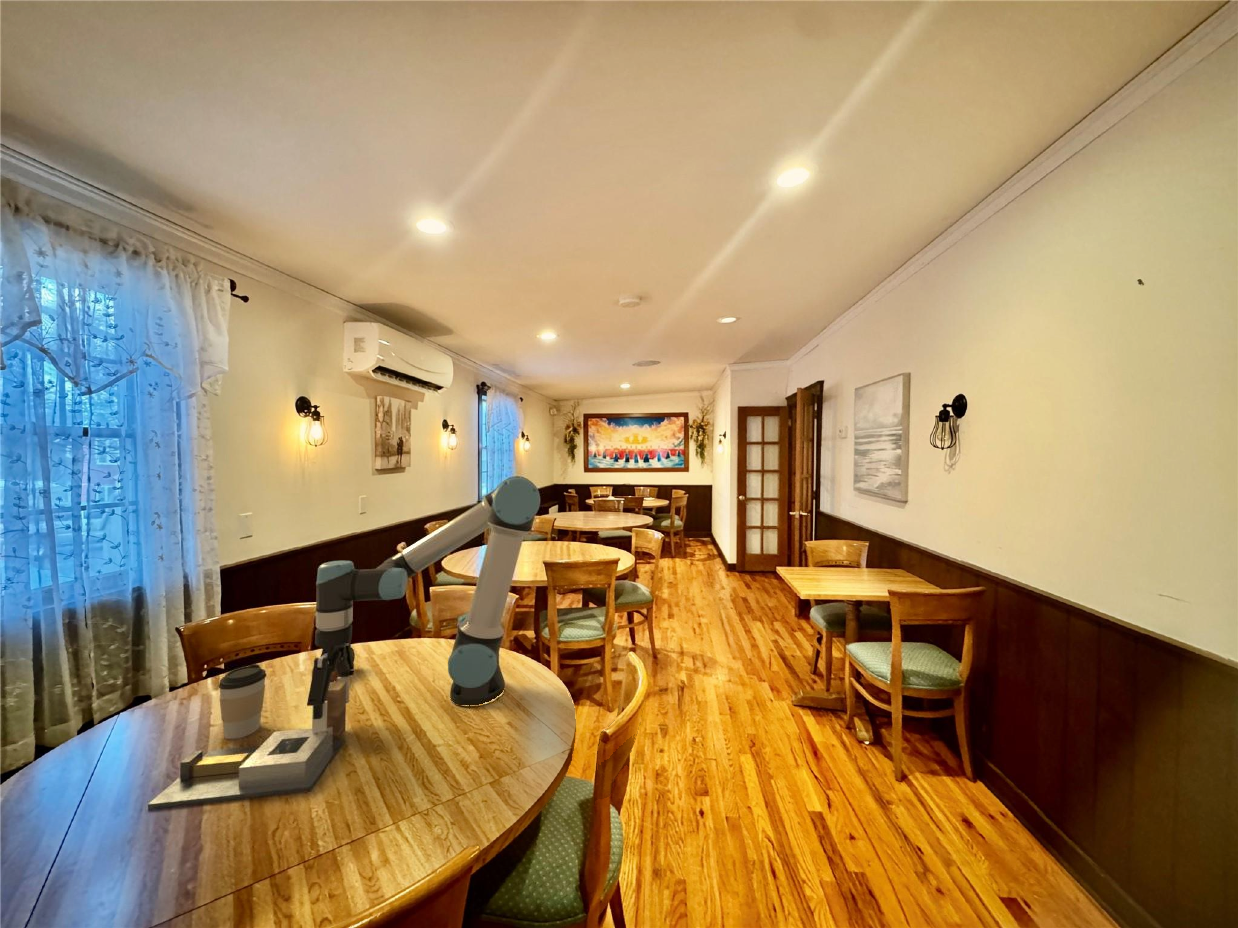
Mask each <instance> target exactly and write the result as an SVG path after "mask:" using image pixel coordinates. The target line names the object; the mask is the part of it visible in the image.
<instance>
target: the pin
mask: <svg viewBox="0 0 1238 928" xmlns="http://www.w3.org/2000/svg"><path fill="white" fill-rule="evenodd" d="M203 752H204V750H202V749H201V750H193V751H192V752H191V753H190V754H189V755H188V756H186V757H185V758H184V759H183V760H181V761H180V764H179V766H180V767H179V777H180V780H186V779H190V778H191V777H197V776H207V775H217V774H227V773H237V772H239V767H240V766H241V765H242V764H243V763H244V762H245V761H246V760H247V759H248V753H246V754H236V755H225V756H215V757H204V758H203V755H204V753H203Z"/></svg>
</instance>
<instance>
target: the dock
mask: <svg viewBox="0 0 1238 928" xmlns="http://www.w3.org/2000/svg"><path fill="white" fill-rule="evenodd" d="M332 731H333V727H327V729H326V731H321V732H312V728H306V729H305V728H304V729H294V730H293V729H292V730H291V729H290V730H284V731H283V730H282V731H274V732H273V733H272V734H271V735H270V736H269V737H268V738H267V739H266V740H265V741H264V742H263V743H262V744H261V745H254V746H253V745H252V746H244V747H243V746H242V747H241V746H240V747H231V748H221V749H210V750H209V751H208V752H207V753H206V754H204V756H203V758H204V757H215V756H225V755H236V754H246V753H248V759H247V760H246V761H245V762H244V763H243V764H242V765H241V766H240V767H239V772H237V773H227V774H217V775H207V776H197V777H191V778H190V779H186V780H180V776H179V777H178V778H177V779H175V780H174V781H173V782H172V783H171V784H170V785H168V787H167V788H165V789H164V790H163V791H161V793H159V794H158V795H157V796H156V797H155V798H153V800H151V801H150V802H149V803H148V804H147V810H155V809H157V810H158V809H165V808H174V807H175V808H176V807H182V806H192V805H193V806H194V805H201V804H202V805H203V804H208V803H209V804H210V803H219V802H228V801H229V802H230V801H237V800H238V801H239V800H246V799H253V798H254V799H255V798H263V797H272V796H280V795H290V794H291V795H292V794H299V793H308V792H309V793H310V792H312V790H313V789H314V787H315V786H316V784H317V783H318V782H319V780H320V778H321V777H322V776H323V774H324V773H325V772H326V770H327V769H328V768H329V766H330V765H331V763H332V762H333V761H334V759H335V758H336V756H337V754H338V753H339V751H340V750H341V749H342V748H343V746H344V745H345V744H346V737H340V738H338V739H332Z"/></svg>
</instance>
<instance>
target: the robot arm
mask: <svg viewBox="0 0 1238 928" xmlns="http://www.w3.org/2000/svg"><path fill="white" fill-rule="evenodd" d="M537 487H538V486H536V484H534V482H532V480H530V479H529V478H526V477H524V476H518V475H515V476H511V477H507V478H506V479H504V480H503V481H501V482H500V483H499V485H497V486H496V487H495V489H493V490H492V491H491V492H489V493H488V494H486V495H484V496H483V499H482V501H480V503H478V504H476V505H474V506H473V507H472V508H469V509H468V510H466V511H465V512H463V513H461V514H459V515H458V516H456V517H454V519H452V520H450V521H449V522H447V523H445V524H443V525H442V526H441V527H439V528H437V529H435V530H434V531H432V532H430V533H429V534H428V535H426V536H424V537H422V538H421V539H419V540H417V541H416V542H415V543H413V544H411V545H410V546H408V547H406V548H405V549H404V550H401V551H400V552H398V553H397V554H394V555H393V556H390V557H388V558H387V559H386V560H384V561H383V563H381V564H380V565H379V566H377V567H376V568H371V569H369V568H368V569H356V568H355V566H354V562H353V561H351V560H332V561H328V562H324V563H322V564H321V565H319V566H318V567H317V576H316V582H315V585H316V604H315V605H316V608H315V610H316V611H315V613H314V617H315V627H316V629H315V631H314V632H315V635H314V644H315V646H316V647H319V648H321V649H322V650H321V654H320V656H319V657H315V658H314V659H313V667H314V670H313V669H312V670H313V675H312V674H311V681H310V687H309V691H308V698H307V703H306V707H310V706H312V713H311V714H312V717H311V718H312V721H311V722H312V723H311V729H312V732H321V731H326V729H327V701H325V700H326V696H327V692H328V688H329V685H330V681H331V677H332V673H333V672H334V671H335V670H336V669H337V672H338V674H339V676H341V677H338V678H337V680H336V682H342V681H347V685H346V704H349V703H350V689H351V687H350V686H351V682H350V681H351V677H350V676H354V674H355V670H354V669H355V661H354V662H353V656H352V650H351V647H352V644H351V642H352V638H353V624H352V622H353V621H354V619H353V616H354V615H353V610H354V608H353V607H354V606H353V605H354V601H355V602H359V601H381V600H382V601H383V600H385V601H391V600H395V599H402V598H403V597H404V596H405V594H406V591H407V588H408V580H409V579H411V578H412V577H414V576H415V575H416V574H418V573H419V572H422V571H423V570H425V569H426V568H427V567H429V566H430V565H433V563H435V562H437V561H439V560H441V559H442V558H443V557H445V556H447V555H448V554H449V553H451V552H453V551H455V550H457V548H458V549H459V548H460V547H462V546H463V545H464V544H466V543H467V542H470V541H471V540H472V539H474V538H476V537H477V536H479V535H480V534H482V533H484V532H485V531H487V530H488V529H490V532H489V537H488V542H487V544H486V548H485V552H484V556H483V560H482V563H481V567H480V570H479V574H478V578H477V581H476V584H475V585H476V586H475V589H474V592H473V596H472V600H471V603H470V607H469V610H468V613H464V614H463V615H460V616H459V617H458V619H457V623H456V624H457V625H456V627H457V633H456V636H455V639H454V643H453V646H452V651H451V654H450V655H449V657H448V660H447V661H448V662H447V671H448V675H449V677H450V679H451V680H452V683H451V687H450V690H449V693H450V695H449V696H450V697H449V699H450V698H451V699H450V701H451V702H452V701H453V702H454V703H455V704H454V703H453V702H452V703H453V704H454V705H456V704H458V705H469V706H470V705H479V704H483V703H485V702H489V701H491V700H492V699H495V698H496V697H497V696H499V695H500V694H501V693H502V692H503V690H504V688H505V689H506V682H505V678H504V676H503V672H502V668H501V667H500V650H501V646H502V642H503V638H504V635H505V630H504V628H503V627H502V625H501V623H502V619H503V616H504V611H505V609H506V604H507V600H508V596H509V593H510V589H511V585H512V582H513V578H514V574H515V571H516V567H517V563H518V559H519V556H520V551H521V547H522V544H523V540H524V537H526V536H528V535H529V534H530V533H531V532H532V529H533V525H534V522H535V518H536V515H537V514H538V511H539V509H540V505H541V496H540V491H539V489H538V488H537ZM349 664H350V665H349ZM458 705H457V706H458Z"/></svg>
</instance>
